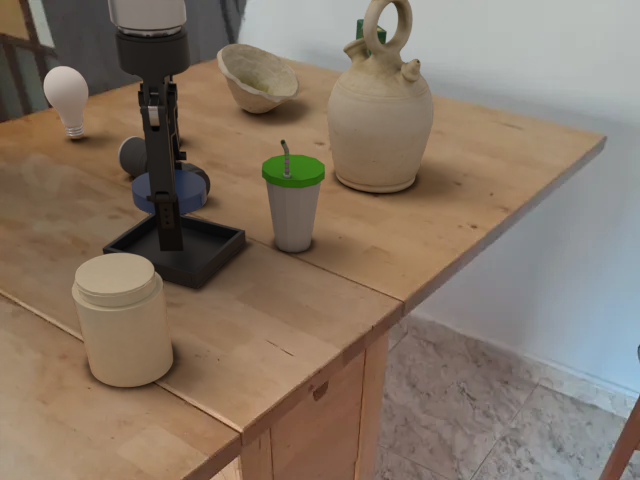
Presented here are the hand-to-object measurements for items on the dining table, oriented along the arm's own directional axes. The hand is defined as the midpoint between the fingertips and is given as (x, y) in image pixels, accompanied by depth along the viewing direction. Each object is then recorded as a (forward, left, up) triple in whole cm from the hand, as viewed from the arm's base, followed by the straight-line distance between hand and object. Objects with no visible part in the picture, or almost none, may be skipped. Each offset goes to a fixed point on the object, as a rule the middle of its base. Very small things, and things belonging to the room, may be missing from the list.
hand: (174, 230), depth 85 cm
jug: (+14, +34, -3) cm, 37 cm away
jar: (+8, -21, -3) cm, 23 cm away
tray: (0, 0, -3) cm, 3 cm away
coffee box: (0, +66, -3) cm, 66 cm away
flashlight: (-12, +15, -3) cm, 20 cm away
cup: (+12, +9, -3) cm, 15 cm away
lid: (0, 0, +6) cm, 6 cm away
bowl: (-15, +51, -3) cm, 53 cm away
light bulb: (-35, +24, -3) cm, 42 cm away
